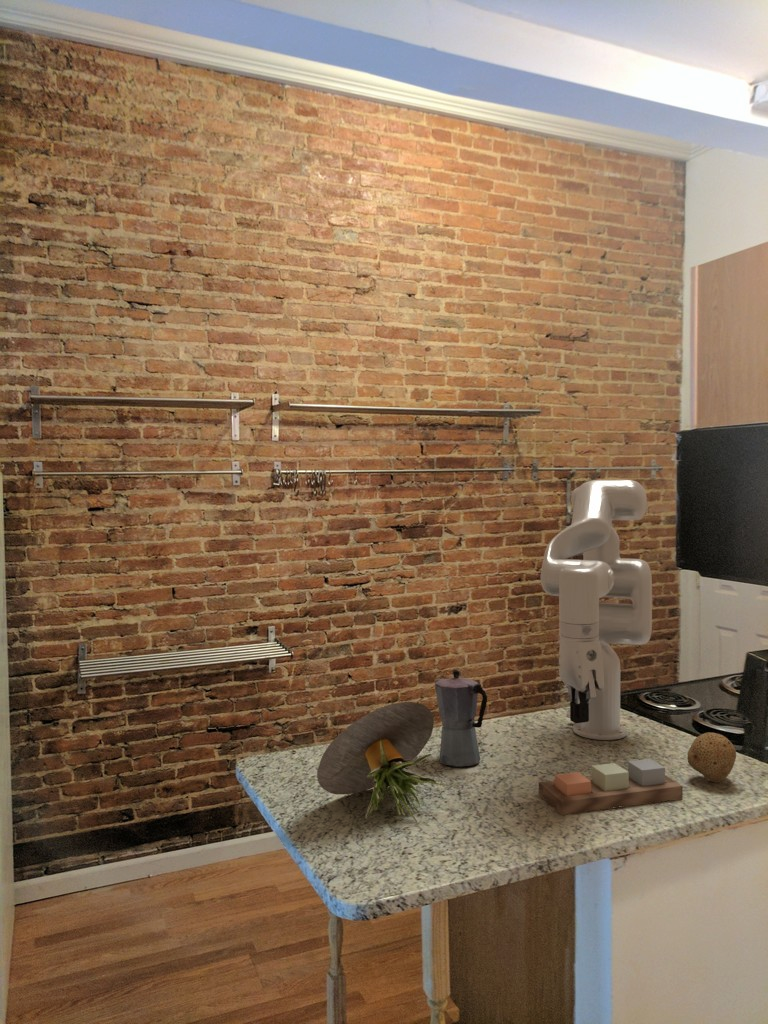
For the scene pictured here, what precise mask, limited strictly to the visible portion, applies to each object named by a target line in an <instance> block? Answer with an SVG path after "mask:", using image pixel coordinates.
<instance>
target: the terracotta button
mask: <svg viewBox="0 0 768 1024" xmlns="http://www.w3.org/2000/svg"><path fill="white" fill-rule="evenodd" d="M585 777H586V776H584V775H583V774H581V773H580V772H579V771H575V772H569V773H568V772H567V773H559V774H554V780H555V787H556V788H557V789H558V790H560V791H561V792H562V793H563V794H565V795H566V796H572V795H579V794H587V793H591V781H590V780H588V779H587V778H585Z"/></svg>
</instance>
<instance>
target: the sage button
mask: <svg viewBox="0 0 768 1024" xmlns="http://www.w3.org/2000/svg"><path fill="white" fill-rule="evenodd" d="M591 776H592V782H593V783H594V784H595V785H597V786H598V787H600V788H601V789H602V790H604V791H610V790H618V789H626V788H629V772H628V770H626V769H624V768H623V767H621V766H620V765H619V764H617V763H615V762H613V763H603V764H596V765H591Z"/></svg>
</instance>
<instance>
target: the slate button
mask: <svg viewBox="0 0 768 1024" xmlns="http://www.w3.org/2000/svg"><path fill="white" fill-rule="evenodd" d="M627 771H628V772H629V778H630V779H631V780H633V781H634V782H636V783H637V784H639V785H640V786H649V785H657V784H665V776H666V767H664V766H663V765H662V764H659V763H658V762H656V761H654V760H652V758H647V759H645V758H644V759H637V760H629V761H627Z"/></svg>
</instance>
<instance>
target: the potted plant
mask: <svg viewBox="0 0 768 1024" xmlns="http://www.w3.org/2000/svg"><path fill="white" fill-rule="evenodd" d="M433 730H434V715H433V713H432V711H431V709H430V708H429V707H427V706H426V705H424V704H422V703H419V702H414V701H402V702H397V703H393V704H392V703H391V704H387V705H385V706H382V707H380V708H376V709H375V710H373V711H371V712H369V713H366V714H365V715H364V716H362V717H360V718H359V719H357V720H355V721H354V722H353V723H351V724H350V725H348V726H347V727H346V728H344V729H343V730H342V731H341V732H340V733H339V734H338V735H337V736H336V737H334V739H333V740H332V741H331V742H330V743H329V745H328V746H327V747H326V749H325V751H324V753H323V754H322V756H321V759H320V761H319V763H318V764H319V765H318V767H317V772H316V777H317V782H318V784H319V786H320V787H321V788H322V789H323V790H324V791H325V792H328V793H330V794H333V795H351V794H352V795H354V794H356V793H361V792H365V791H368V790H371V789H372V794H371V798H370V801H369V803H368V807H367V808H366V809H367V810H366V812H365V819H368V817H369V816H370V815H371V814H372V813H373V811H378V810H379V803H380V801H381V800H384V795H385V794H386V795H387V797H390V794H389V792H388V791H387V790H388V788H390V790H391V793H392V795H393V799H394V802H395V805H396V809H397V813H398V815H399V816H401V813H402V815H403V816H404V817H406V813H405V811H404V808H403V806H402V804H403V805H404V806H405V808H406V810H407V812H408V813H409V814H410V815H411V817H412V819H413V820H414V821H415V822H416V823H418V821H417V819H416V818H415V815H414V814H415V811H416V812H418V813H419V810H418V808H417V807H416V805H415V803H414V802H416V803H417V804H418V807H419V808H422V807H421V803H420V800H419V799H418V797H419V795H418V794H417V793H422V791H420V790H418V789H417V788H416V787H415V786H418V785H419V784H426V783H430V784H433V785H437V786H438V785H440V786H443V787H445V786H446V787H448V786H449V785H448V784H444V783H438V782H437V781H436V780H435V779H432V778H430V777H424V776H422V775H420V774H417V773H414V772H409V771H408V770H409V767H411V766H413V765H415V764H417V763H419V762H421V761H423V760H425V759H427V758H428V757H431V756H432V753H427V754H424V755H423V756H421V757H418V756H419V754H420V753H421V752H422V751H423V750H424V748H425V746H426V745H427V743H428V742H429V740H430V738H431V737H432V733H433ZM417 757H418V758H417ZM406 770H407V771H406ZM409 795H411V796H412V797H413V798H414V799H413V798H411V797H410V796H409ZM401 802H402V803H401ZM408 806H409V807H408ZM413 808H414V809H413Z"/></svg>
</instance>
